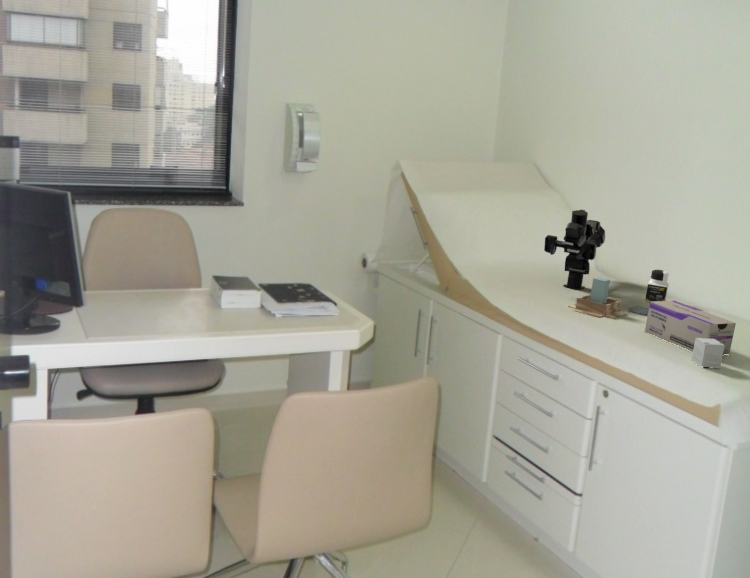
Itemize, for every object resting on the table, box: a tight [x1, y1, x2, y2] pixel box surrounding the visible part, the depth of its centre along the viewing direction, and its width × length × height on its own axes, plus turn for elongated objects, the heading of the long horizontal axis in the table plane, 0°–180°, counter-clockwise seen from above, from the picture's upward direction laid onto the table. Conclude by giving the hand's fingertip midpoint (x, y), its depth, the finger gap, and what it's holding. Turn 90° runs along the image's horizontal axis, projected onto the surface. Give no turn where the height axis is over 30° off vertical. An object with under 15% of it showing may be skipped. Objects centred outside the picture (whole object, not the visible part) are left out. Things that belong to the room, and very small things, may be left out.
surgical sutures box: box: [644, 300, 737, 355], centre depth 260 cm, size 25×11×11 cm, turn 26°
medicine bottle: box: [644, 269, 670, 303], centre depth 313 cm, size 7×7×12 cm
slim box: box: [590, 276, 611, 305], centre depth 290 cm, size 4×4×12 cm
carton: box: [568, 293, 626, 320], centre depth 291 cm, size 17×17×4 cm
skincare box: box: [690, 338, 725, 369], centre depth 240 cm, size 6×6×7 cm
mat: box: [628, 305, 649, 316], centre depth 296 cm, size 10×10×1 cm
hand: (563, 255), depth 299 cm, fingers open, 9 cm apart
